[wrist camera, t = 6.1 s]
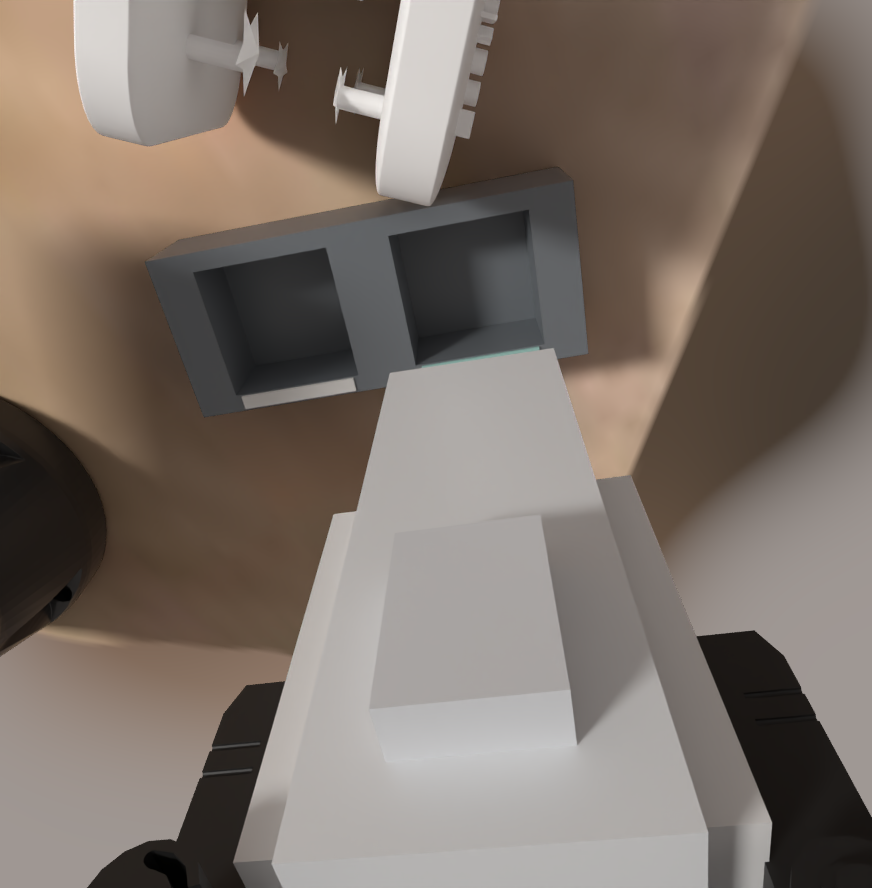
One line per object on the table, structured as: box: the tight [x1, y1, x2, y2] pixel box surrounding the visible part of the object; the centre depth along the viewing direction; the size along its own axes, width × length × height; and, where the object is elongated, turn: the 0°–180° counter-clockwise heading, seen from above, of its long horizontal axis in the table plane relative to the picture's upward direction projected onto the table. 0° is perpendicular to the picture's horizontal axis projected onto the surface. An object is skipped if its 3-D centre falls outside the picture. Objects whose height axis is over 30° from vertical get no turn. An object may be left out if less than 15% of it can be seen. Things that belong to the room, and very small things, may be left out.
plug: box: [271, 348, 708, 888], centre depth 12 cm, size 4×5×12 cm
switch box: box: [145, 167, 588, 417], centre depth 30 cm, size 17×7×4 cm, turn 100°
